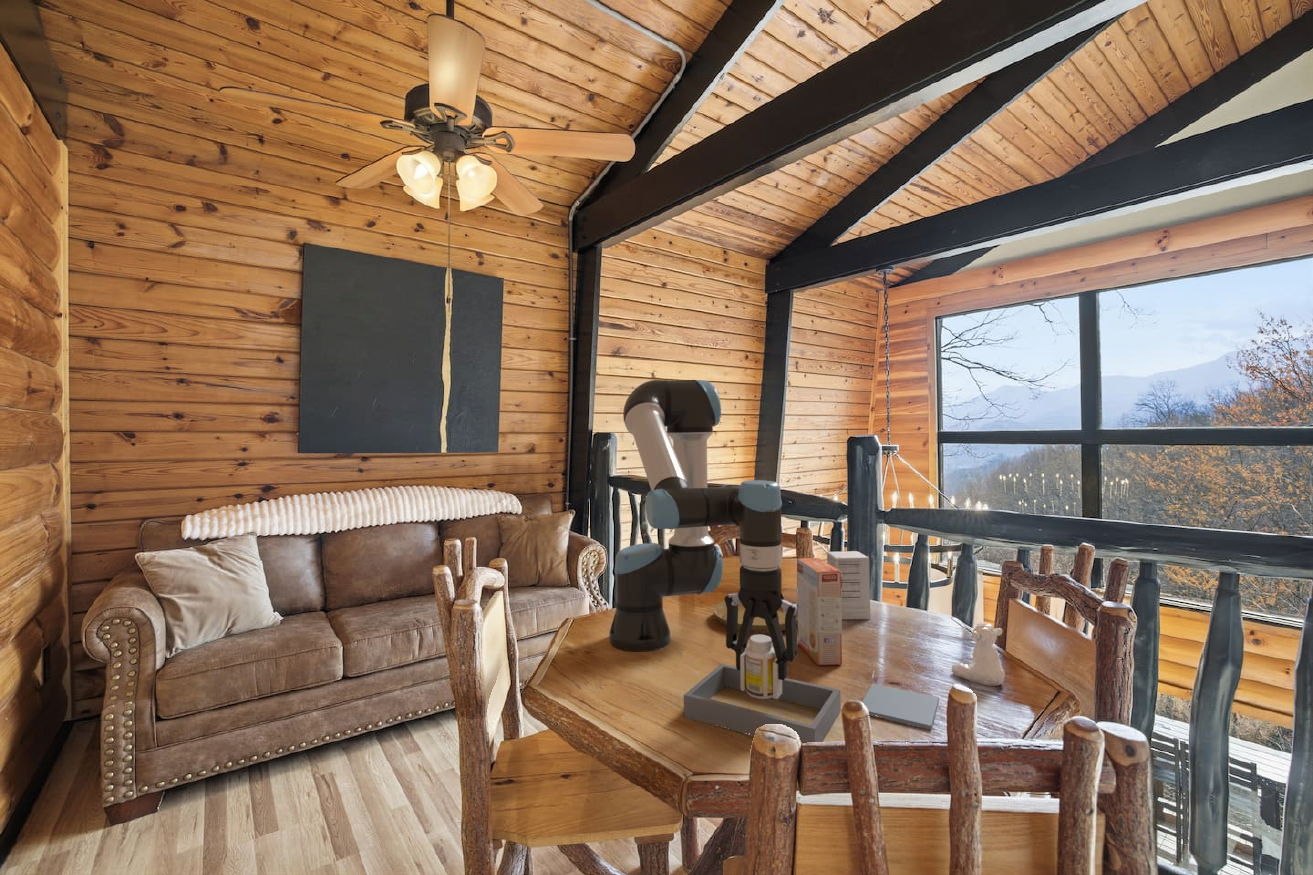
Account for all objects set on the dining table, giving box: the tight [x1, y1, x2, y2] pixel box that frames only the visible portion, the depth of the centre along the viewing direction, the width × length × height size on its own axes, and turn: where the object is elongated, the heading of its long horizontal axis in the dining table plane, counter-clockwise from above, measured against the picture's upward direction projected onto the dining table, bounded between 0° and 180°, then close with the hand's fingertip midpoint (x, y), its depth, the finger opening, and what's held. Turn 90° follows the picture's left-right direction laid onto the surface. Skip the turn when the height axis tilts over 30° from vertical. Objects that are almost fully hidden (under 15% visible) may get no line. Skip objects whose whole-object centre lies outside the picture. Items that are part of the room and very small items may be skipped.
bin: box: [683, 663, 842, 743], centre depth 105 cm, size 24×16×4 cm, turn 58°
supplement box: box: [826, 550, 871, 620], centre depth 160 cm, size 10×9×17 cm
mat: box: [862, 683, 940, 731], centre depth 107 cm, size 12×12×1 cm
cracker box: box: [796, 557, 843, 667], centre depth 132 cm, size 14×6×21 cm, turn 4°
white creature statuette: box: [951, 622, 1006, 687], centre depth 118 cm, size 10×9×12 cm
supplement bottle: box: [745, 634, 777, 700], centre depth 105 cm, size 6×6×10 cm
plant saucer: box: [712, 600, 798, 634], centre depth 156 cm, size 24×24×3 cm
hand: (761, 691), depth 105 cm, fingers closed on supplement bottle, 6 cm apart
